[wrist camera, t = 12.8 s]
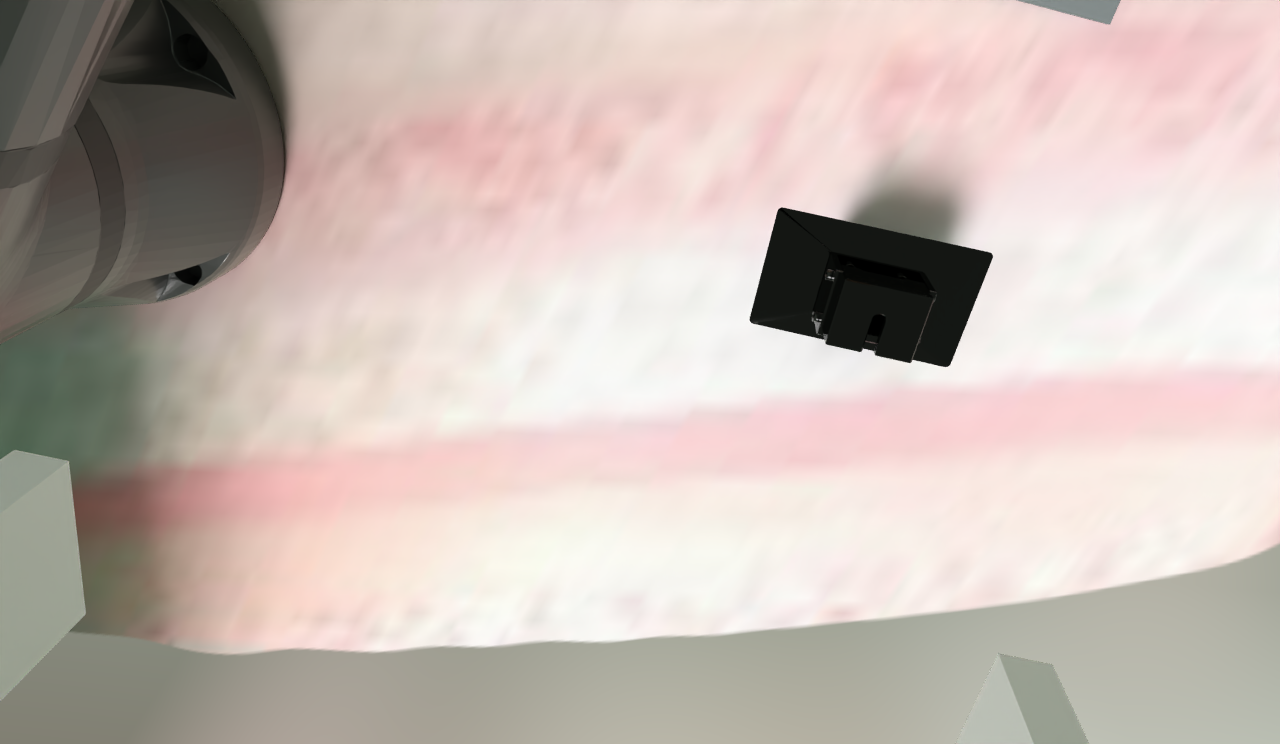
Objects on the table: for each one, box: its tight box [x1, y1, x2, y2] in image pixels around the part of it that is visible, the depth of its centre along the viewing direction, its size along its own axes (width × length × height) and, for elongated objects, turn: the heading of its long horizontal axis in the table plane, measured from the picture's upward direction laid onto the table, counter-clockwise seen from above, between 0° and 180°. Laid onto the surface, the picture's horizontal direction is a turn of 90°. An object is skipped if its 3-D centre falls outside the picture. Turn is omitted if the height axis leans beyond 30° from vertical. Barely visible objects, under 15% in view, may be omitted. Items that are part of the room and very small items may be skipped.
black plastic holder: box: [750, 208, 993, 367], centre depth 38 cm, size 12×7×5 cm, turn 79°
